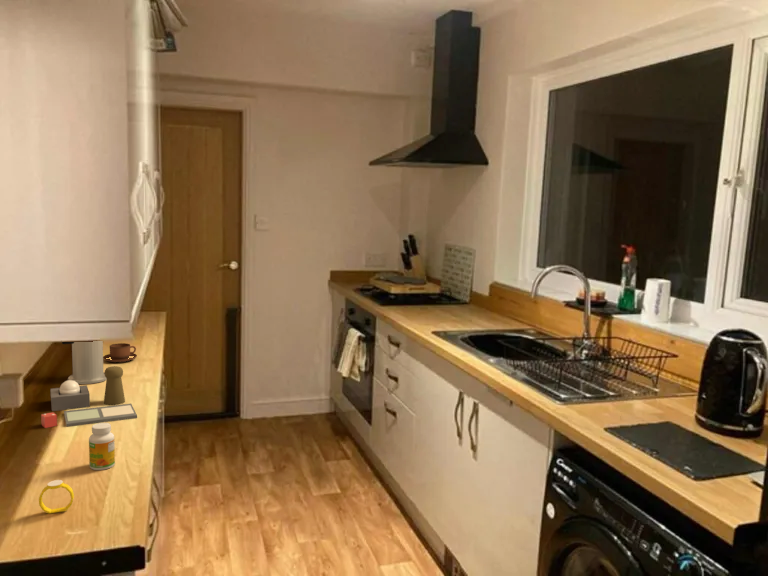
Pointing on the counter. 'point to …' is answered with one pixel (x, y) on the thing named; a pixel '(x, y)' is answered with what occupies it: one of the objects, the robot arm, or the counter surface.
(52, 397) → the gray square holder
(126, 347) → the cup and saucer
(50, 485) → the watch
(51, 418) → the red die
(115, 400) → the brown pepper mill
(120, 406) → the game board
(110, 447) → the supplement bottle
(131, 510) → the counter surface
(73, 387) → the cream white ball
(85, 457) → the counter surface
